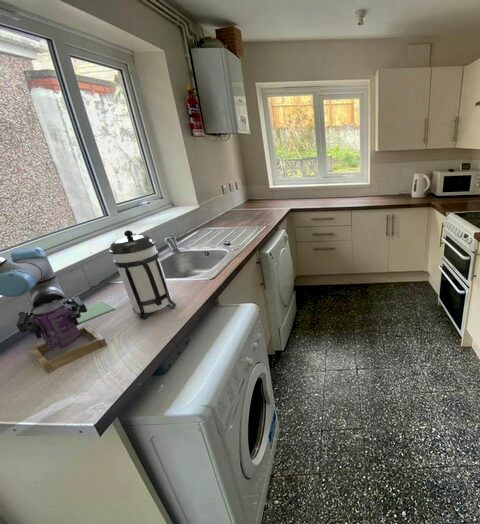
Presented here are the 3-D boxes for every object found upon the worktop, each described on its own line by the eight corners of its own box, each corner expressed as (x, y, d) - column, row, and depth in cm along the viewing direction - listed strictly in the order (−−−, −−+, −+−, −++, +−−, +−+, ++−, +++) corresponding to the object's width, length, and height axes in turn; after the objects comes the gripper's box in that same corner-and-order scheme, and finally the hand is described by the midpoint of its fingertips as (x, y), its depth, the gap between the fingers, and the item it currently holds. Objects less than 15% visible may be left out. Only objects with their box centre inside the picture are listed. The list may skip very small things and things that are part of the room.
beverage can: (55, 339, 86) (37, 304, 81) (85, 332, 89) (69, 298, 84) (44, 353, 80) (23, 317, 75) (76, 345, 83) (58, 310, 78)
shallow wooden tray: (33, 355, 84) (29, 348, 83) (89, 330, 94) (86, 324, 93) (47, 373, 77) (43, 366, 76) (107, 345, 87) (104, 338, 86)
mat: (62, 316, 104) (61, 315, 103) (102, 301, 113) (101, 300, 113) (73, 325, 97) (73, 325, 97) (114, 309, 107) (114, 308, 107)
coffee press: (117, 322, 98) (82, 239, 87) (149, 299, 113) (122, 225, 101) (166, 321, 97) (137, 237, 86) (192, 298, 112) (170, 223, 101)
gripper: (93, 299, 101) (107, 322, 86) (10, 324, 87) (10, 357, 73) (84, 280, 98) (97, 301, 84) (-3, 303, 84) (-5, 333, 70)
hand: (57, 327), depth 78 cm, fingers closed on beverage can, 7 cm apart
